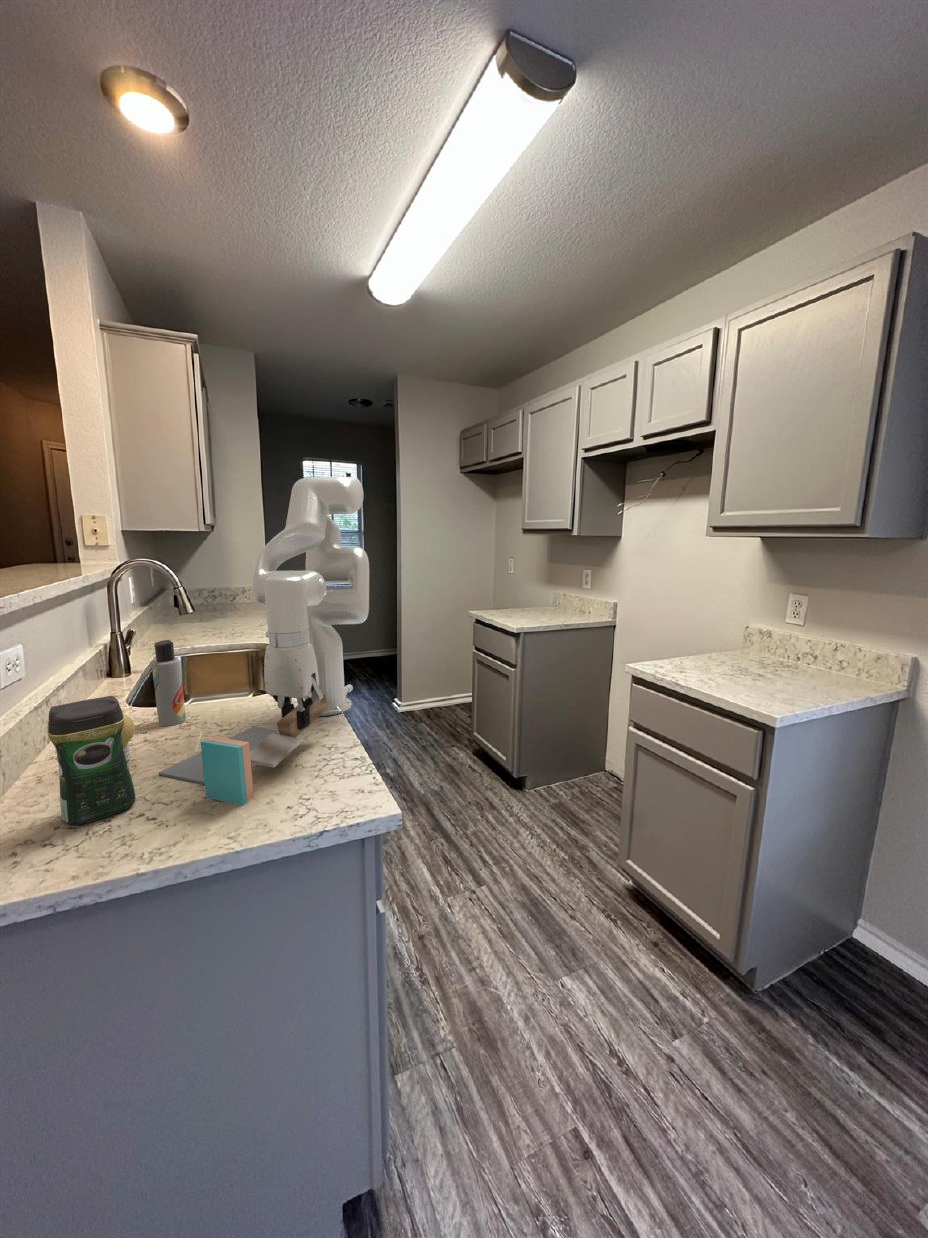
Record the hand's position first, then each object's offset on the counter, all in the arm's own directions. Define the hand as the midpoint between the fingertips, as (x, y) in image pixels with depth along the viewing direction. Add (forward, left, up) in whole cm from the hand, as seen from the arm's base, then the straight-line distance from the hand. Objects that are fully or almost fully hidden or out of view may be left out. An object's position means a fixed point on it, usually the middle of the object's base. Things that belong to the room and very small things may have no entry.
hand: (296, 725), depth 98 cm
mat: (+4, -13, -6) cm, 15 cm away
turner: (+1, 0, -1) cm, 2 cm away
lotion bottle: (-5, -41, -6) cm, 41 cm away
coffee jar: (+28, -17, -6) cm, 33 cm away
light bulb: (+15, -31, -6) cm, 35 cm away
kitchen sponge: (+18, 0, -6) cm, 19 cm away
